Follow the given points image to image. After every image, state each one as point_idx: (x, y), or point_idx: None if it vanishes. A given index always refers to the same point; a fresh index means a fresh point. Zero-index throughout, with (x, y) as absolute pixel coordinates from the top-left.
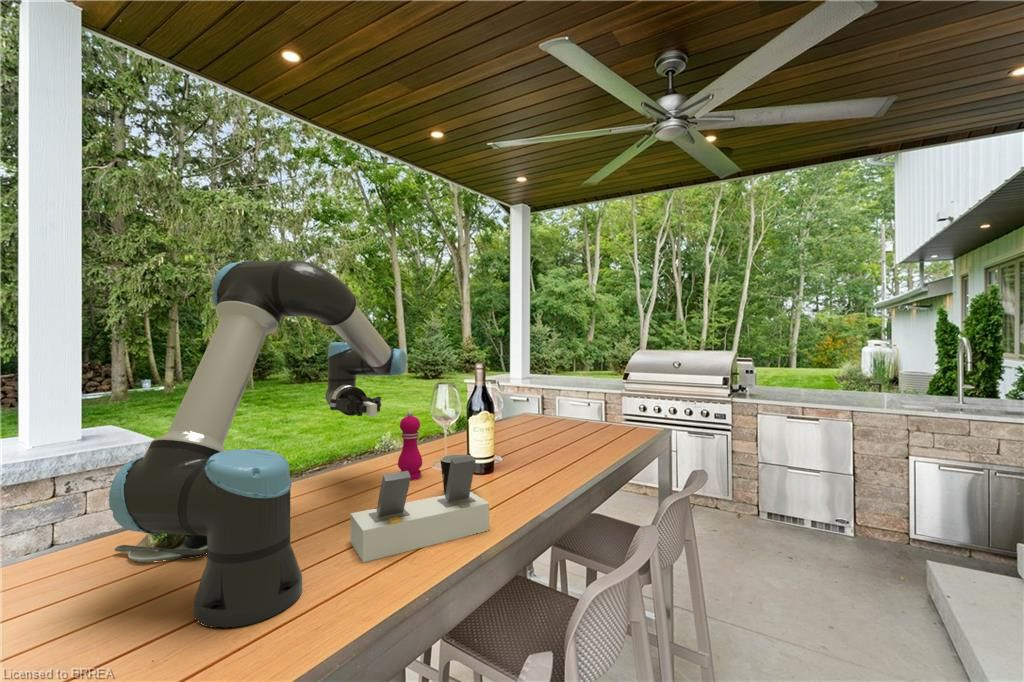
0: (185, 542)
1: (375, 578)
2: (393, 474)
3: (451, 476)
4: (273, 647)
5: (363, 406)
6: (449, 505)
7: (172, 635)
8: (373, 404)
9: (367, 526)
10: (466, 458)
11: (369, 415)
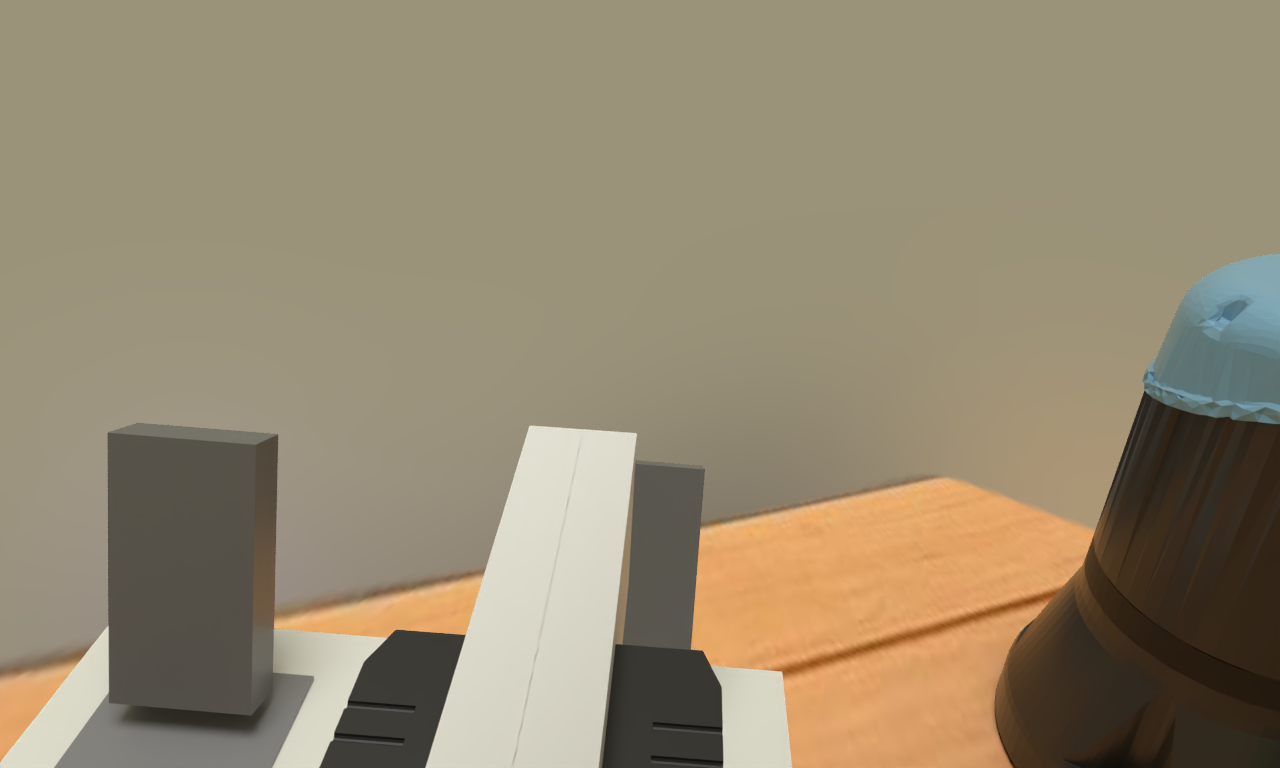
0: None
1: (747, 658)
2: (649, 464)
3: (271, 530)
4: (1024, 550)
5: (676, 652)
6: (289, 679)
7: None
8: (577, 442)
9: (753, 697)
10: (166, 433)
11: (625, 606)
